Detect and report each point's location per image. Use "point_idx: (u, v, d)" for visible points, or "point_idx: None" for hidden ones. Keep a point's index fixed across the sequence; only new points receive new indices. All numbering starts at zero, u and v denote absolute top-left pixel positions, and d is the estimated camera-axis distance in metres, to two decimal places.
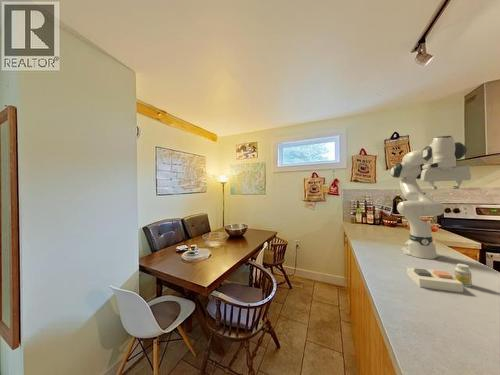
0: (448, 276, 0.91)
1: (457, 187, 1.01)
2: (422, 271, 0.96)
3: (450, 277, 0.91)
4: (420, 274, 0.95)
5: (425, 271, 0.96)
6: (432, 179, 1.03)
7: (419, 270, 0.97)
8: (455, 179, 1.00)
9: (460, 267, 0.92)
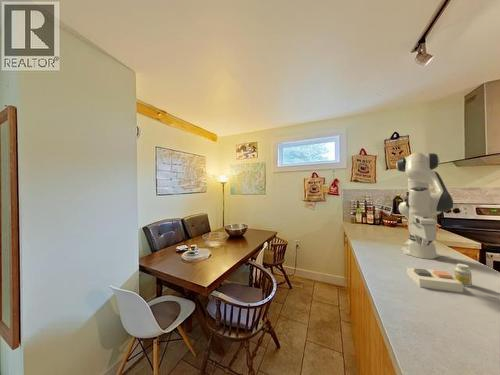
0: (448, 276, 0.91)
1: None
2: (422, 271, 0.96)
3: (450, 277, 0.91)
4: (420, 274, 0.95)
5: (425, 271, 0.96)
6: None
7: (419, 270, 0.97)
8: None
9: (460, 267, 0.92)
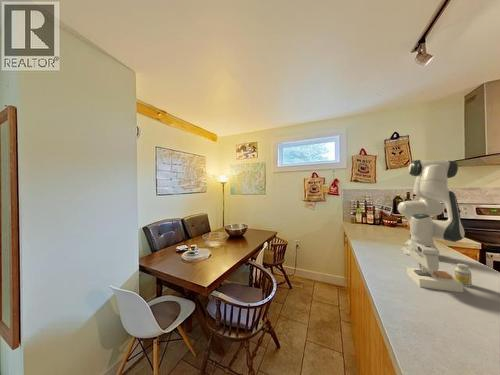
0: (448, 276, 0.91)
1: None
2: None
3: (450, 277, 0.91)
4: (420, 275, 0.95)
5: None
6: None
7: (419, 271, 0.97)
8: None
9: (460, 267, 0.92)
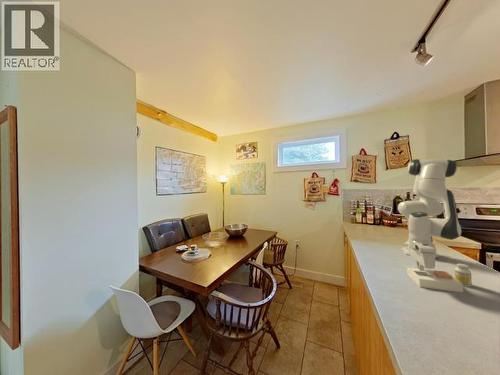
0: (448, 276, 0.91)
1: None
2: (422, 275, 0.96)
3: (450, 277, 0.91)
4: None
5: (425, 275, 0.96)
6: None
7: (419, 274, 0.97)
8: None
9: (460, 267, 0.92)
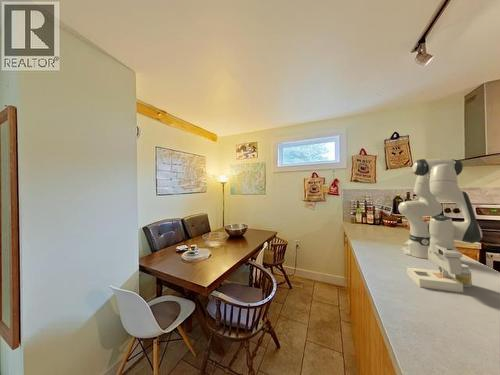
0: None
1: None
2: (422, 275, 0.96)
3: None
4: None
5: (425, 275, 0.96)
6: None
7: (419, 274, 0.97)
8: None
9: None
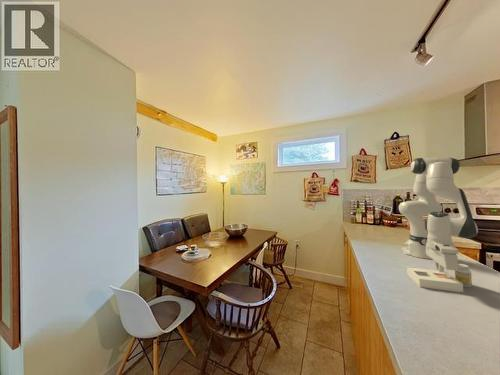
0: None
1: None
2: (422, 275, 0.96)
3: None
4: None
5: (425, 275, 0.96)
6: None
7: (419, 274, 0.97)
8: None
9: (460, 267, 0.92)
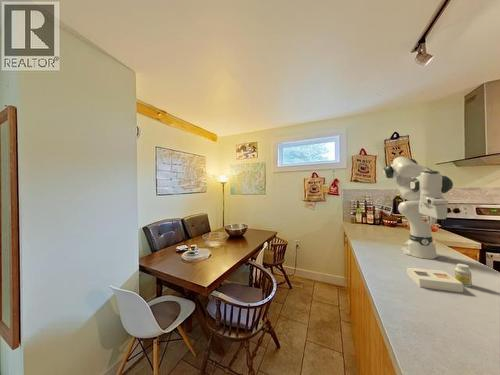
0: None
1: None
2: (422, 275, 0.96)
3: None
4: None
5: (425, 275, 0.96)
6: None
7: (419, 274, 0.97)
8: None
9: (460, 267, 0.92)
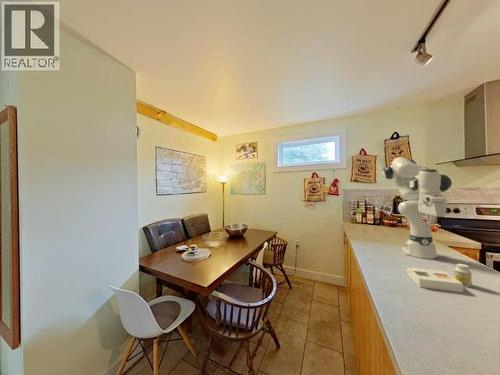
0: None
1: None
2: (422, 275, 0.96)
3: None
4: None
5: (425, 275, 0.96)
6: None
7: (419, 274, 0.97)
8: None
9: (460, 267, 0.92)
